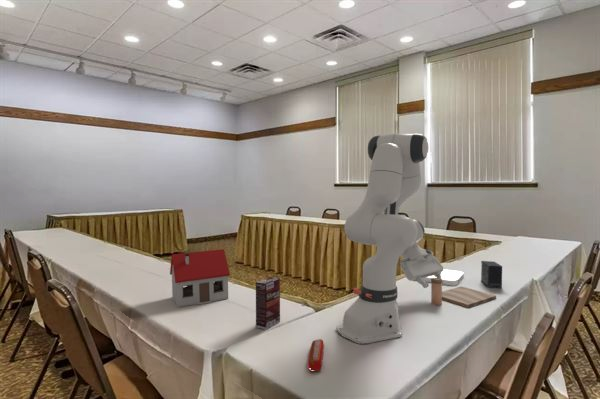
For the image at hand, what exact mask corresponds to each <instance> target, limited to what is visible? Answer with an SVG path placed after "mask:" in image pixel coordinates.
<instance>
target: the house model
mask: <svg viewBox="0 0 600 399" xmlns="http://www.w3.org/2000/svg"><path fill="white" fill-rule="evenodd" d="M169 270H170V271H169V275H170V276H171V291H172V294H171V295H172V300H173V301H174V303H175V305H176V307H177V308H180V307H186V306H192V305H199V306H200V305H202V304H203V305H205V304H210V303H213V302H215V301H217V302H218V301H221V300H227V299H229V276H230V274H231V272H230V269H229V264H228V260H227V257H226V252H225V249H224V248H223V249H222V248H220V249H214V250H213V249H212V250H202V251H201V250H200V251H194V252H183V253H173V254H171V259H170V269H169Z"/></svg>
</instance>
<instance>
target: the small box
mask: <svg viewBox="0 0 600 399" xmlns="http://www.w3.org/2000/svg"><path fill="white" fill-rule="evenodd" d="M480 271H481V272H480V275H481V277H480V281H481V283H482V284H483V283H484V284H483V285H485V286H486V287H487V288H496V289H497V288H498V289H499V288H500V289H502V287H503V286H502V285H503V265H500V264H499V263H497V262H496V261H488V260H481V270H480Z"/></svg>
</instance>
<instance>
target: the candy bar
mask: <svg viewBox="0 0 600 399" xmlns="http://www.w3.org/2000/svg"><path fill="white" fill-rule="evenodd" d="M323 350H325V346H324V339H319V338H318V339H315V340H313V341H312V342H311V346H310V350H309V356H308V361H307V362H308V363H307V364H308V365H307V366H308V369H309V368H311V370H317V371H321V369H322V368H323V367H322V366H323V361H322V360H324V351H323ZM321 367H322V368H321Z"/></svg>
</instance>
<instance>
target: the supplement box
mask: <svg viewBox="0 0 600 399" xmlns="http://www.w3.org/2000/svg"><path fill="white" fill-rule="evenodd" d="M280 279H281V278H278V277H273V276H270V277H267V278H265V279H262V280H260V281H259V280H258V281H256V282H255V327H256V328H258V329H260V328H261V330H264V329H265V331H267V330H268V329H270V328H272V327H273V326H275V325H277V324H278V322H279V323H280V322H281V283H280V282H281V280H280ZM276 323H277V324H276ZM271 326H272V327H271Z"/></svg>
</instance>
